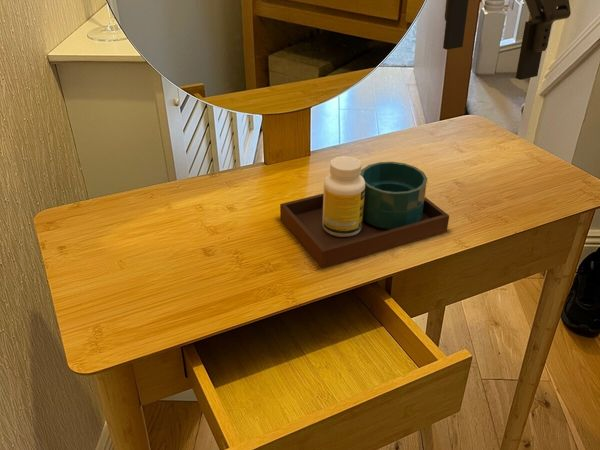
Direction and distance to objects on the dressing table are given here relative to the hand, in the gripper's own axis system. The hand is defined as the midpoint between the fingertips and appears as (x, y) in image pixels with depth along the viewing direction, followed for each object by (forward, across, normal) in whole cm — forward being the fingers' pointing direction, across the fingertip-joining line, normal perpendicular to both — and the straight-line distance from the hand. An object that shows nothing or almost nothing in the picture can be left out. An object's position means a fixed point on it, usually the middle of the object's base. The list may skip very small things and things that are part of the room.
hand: (487, 61), depth 79 cm
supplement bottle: (+21, -3, -19) cm, 28 cm away
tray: (+21, -2, -16) cm, 27 cm away
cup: (+21, -2, -12) cm, 24 cm away
